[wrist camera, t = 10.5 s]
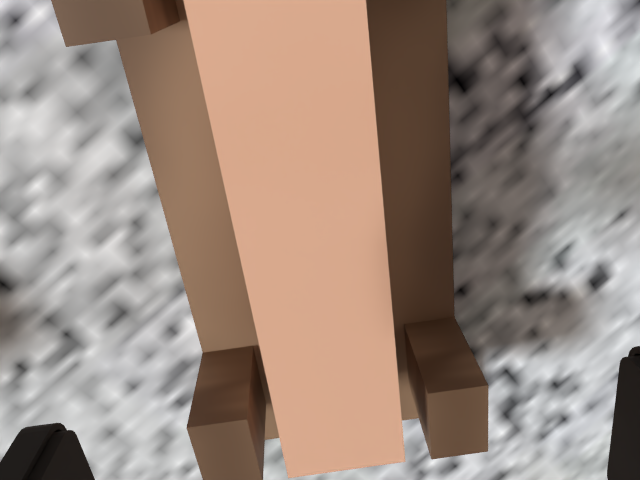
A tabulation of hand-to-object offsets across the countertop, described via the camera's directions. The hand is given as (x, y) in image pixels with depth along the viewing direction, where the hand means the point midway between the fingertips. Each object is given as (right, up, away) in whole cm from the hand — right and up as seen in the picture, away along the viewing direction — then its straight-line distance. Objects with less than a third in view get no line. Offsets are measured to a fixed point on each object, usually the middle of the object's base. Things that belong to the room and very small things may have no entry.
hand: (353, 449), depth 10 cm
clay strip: (-1, +5, +10) cm, 11 cm away
